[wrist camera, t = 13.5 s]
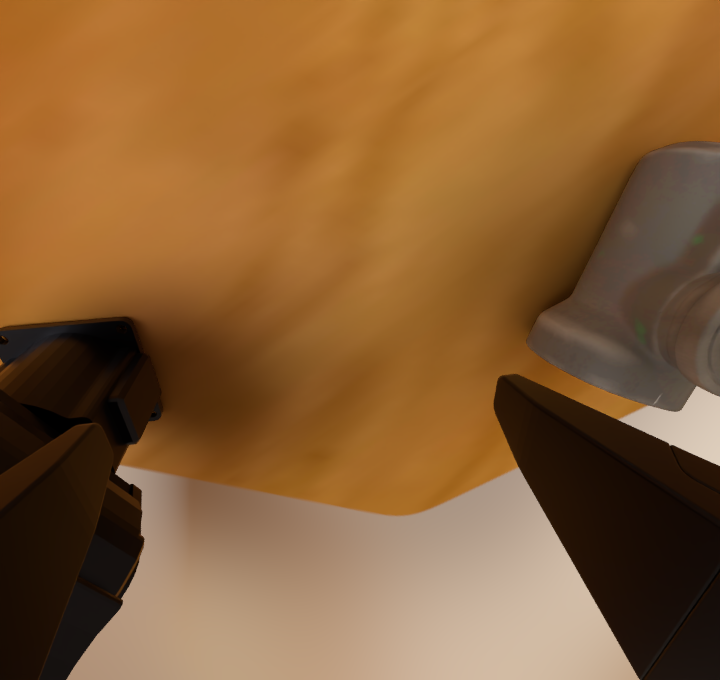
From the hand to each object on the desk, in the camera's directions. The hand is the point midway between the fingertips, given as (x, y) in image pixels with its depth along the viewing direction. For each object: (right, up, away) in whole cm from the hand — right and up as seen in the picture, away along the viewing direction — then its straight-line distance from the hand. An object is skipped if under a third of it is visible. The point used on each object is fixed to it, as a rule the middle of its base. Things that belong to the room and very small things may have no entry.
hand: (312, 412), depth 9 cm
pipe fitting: (+15, +7, +15) cm, 22 cm away
